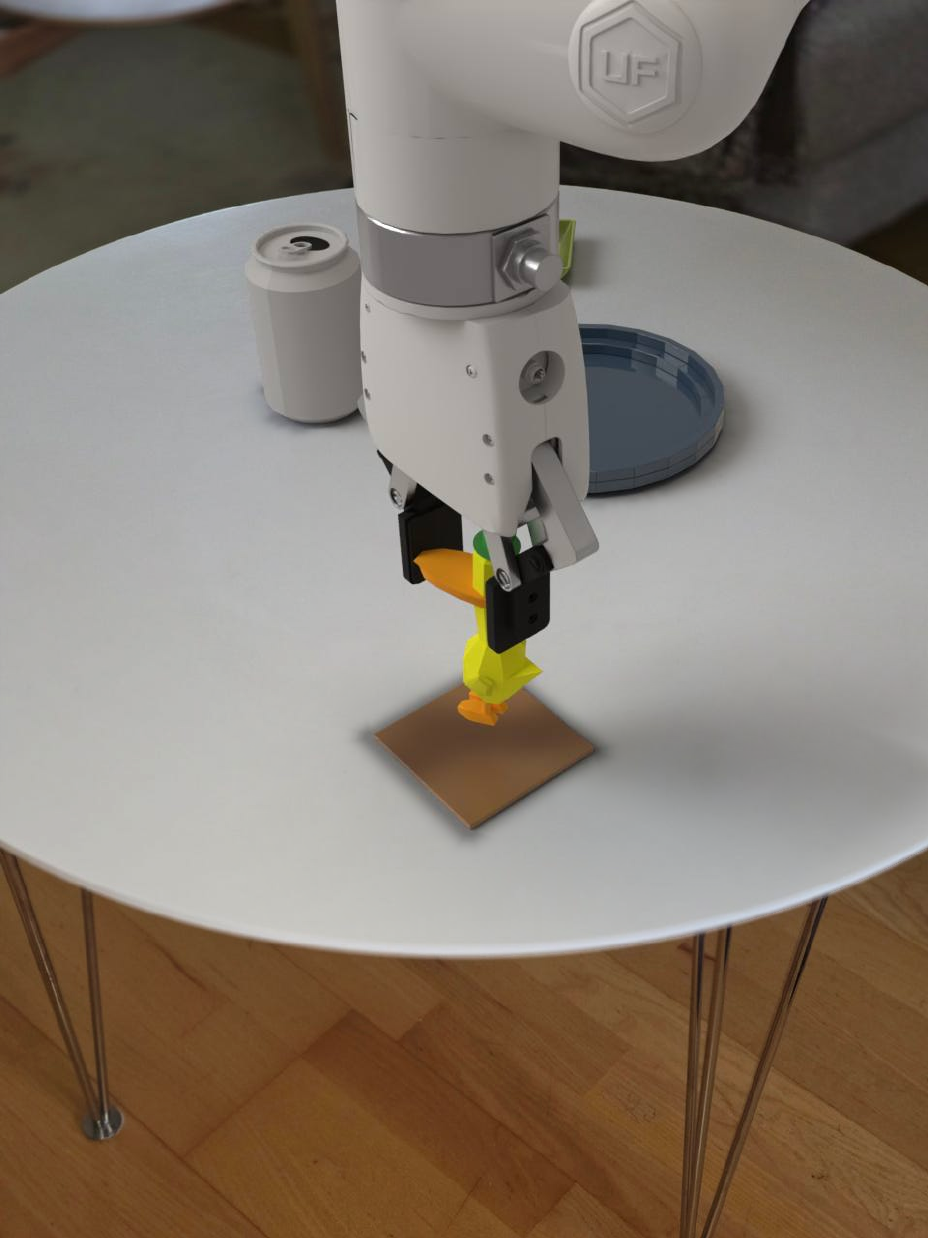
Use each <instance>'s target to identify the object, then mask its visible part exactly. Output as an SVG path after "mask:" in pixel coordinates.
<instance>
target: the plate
mask: <svg viewBox="0 0 928 1238" xmlns="http://www.w3.org/2000/svg"><path fill="white" fill-rule="evenodd" d="M578 327H579V332H580V338H581V344H582V352H583V359H584V367H585V378H586V389H587V404H588V422H589V485H588V491H587V494H588V493H590V494H596V493H597V494H599V493H607V492H615V491H623V490H624V491H625V490H632V489H636V488H639V487H643V486H647V485H648V484H653V483H656V482H660V481H662V480H663V481H664V480H667V479H668V478H670V477H672V476H674V475H677V474H678V473H680V472H682V471H684V470H685V469H687V468H690V467H691V466H694V465H695V464H696V463H697V462H698V461H700V460H701V459H702V458H703V457H704V456H705V455H706V454H707V453H708V452H709V451H710V450H711V449H712V448H713V447H714V446H715V444H716V442H717V439H718V437H719V435H720V433H721V431H722V428H723V426H724V418H725V417H724V416H725V408H726V404H725V403H726V401H725V386H724V384H723V382H722V380H721V379H720V376H719V375H718V373H717V371H716V370H715V368H714V366H713V365H711V364H710V363H709V362H708V361H706V359H705V358H703V356H701V355H700V354H698V353H697V351H695V350H693V349H691V348H690V347H687V346H685V345H684V344H681V343H680V342H678V341H676V340H674V339H673V338H671V337H667V336H664V335H660V334H658V333H654V332H650V331H649V330H644V329H641V328H635V327H629V326H622V325H617V324H616V325H615V324H608V323H578Z"/></svg>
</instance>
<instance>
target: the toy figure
mask: <svg viewBox="0 0 928 1238" xmlns="http://www.w3.org/2000/svg"><path fill="white" fill-rule="evenodd" d="M517 532H518V531H517ZM517 532H516V534H515V535H514V536H512V537H511V539H512V543H513V547H514V551H515V555H518V554H520V553H521V550H522V542H521V540H520V538H519V537H518V536H517ZM472 547H473V552H472V553H471V552H466V551H464V550H463V551H458V550H451V549H443V548H442V549H434V550H427V551H423V552H421V553H420V554H419V555H418V556H417V558H416V559H415V560H414V562H415V563H416V564H418V565H419V567H420V569H421V572H422V574H423V576H424V578H425V579H426V580H425V581H427V582H429V583H430V584H431V585H432V586H434V587H435V588H437V589H439V590H441V591H442V592H445V593H446V594H448V595H450V596H452V597H454V598H456V599H458V600H460V601H463V602H465V603H468V604H470V605H473V609H474V615H475V620H476V621H475V622H476V627H477V633H475V634H474V635H473V636H471V637H470V638H468V640H466V642H465V647H464V652H463V656H462V683H465V684H464V685H466V686H467V687H468V688H470V689H471V691H470V693H469V698H470V700H464V701H461V703H460V704H459V706H458V707H457V708H458V712H459V713H460V714H462V715H463V716H464V717H465V718H467V719H469V720H471V721H474V722H478V723H483V724H487V725H492V726H494V725H495V723H496V722H497V720H498V716H497V715H496V714H495V713H494V712H496V713H500V714H504V712H505V711H506V710H507V709H508V705H507V704H506V703H505V700H506V699H508V698H510V697H511V696H512V695H513V694H515V693H516V692H517V691H518V690H520V689H521V688H523V687H524V686H526V685H527V684H528V683H530V682H531V681H532V680H534V679H535V678H537V677H538V676H539V675H541V674H542V673H543V672H544V670H542V668H540V667H539V666H538V665H536V664H535V663H534V662H532V660H531V659H529V658H528V657H526V650H527V647H526V646H527V639H526V640H524V641H522V642H521V643H519V644H517V645H515V646H514V647H512V648H510V649H508V650H507V651H505V652H503V653H501V654H497V653H495V652H494V651H493V650H492V649H491V648H489V646H488V641H487V619H486V593H485V584H486V581H487V580H488V579H489V578H491V577H493V576H495V575H494V571H493V567H492V563H491V559H490V556H489V552H488V548H487V544H486V540H485V537H484V533H483V529H482V528H481V530H479V531H478V532H476V534H475V535H474V537H473V539H472Z"/></svg>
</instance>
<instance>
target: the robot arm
mask: <svg viewBox="0 0 928 1238" xmlns="http://www.w3.org/2000/svg"><path fill="white" fill-rule="evenodd" d="M810 1H811V0H335V5H336V14H337V15H336V17H337V25H338V26H337V27H338V37H339V46H340V57H341V68H342V79H343V88H344V99H345V110H346V120H347V129H348V130H347V131H348V139H349V142H348V143H349V150H350V160H351V161H350V162H351V170H352V182H353V191H354V201H355V212H356V221H357V231H358V232H357V233H358V243H359V244H358V245H359V253H360V262H361V272H362V279H361V298H360V342H361V369H362V381H363V394H362V395H361V396H360V397H359V399H358V401H357V404H358V408H357V409H358V410H359V413H360V415H361V416H362V418H363V420H364V422H365V424H366V425H367V427H368V431H369V435H370V438H371V441H372V443H373V444H374V446H375V447H376V453H377V454H376V455H377V456H378V457H379V459H381V461H382V463H383V465H384V467H385V469H386V471H387V472H388V474H389V476H390V479H389V484H388V491H387V492H388V497H389V499H390V502H391V503H392V505H393V506H394V507H395V508H396V509H398V510H403V511H402V512H400V513H398V514H397V520H398V531H399V532H398V533H399V543H400V554H401V565H402V566H401V567H402V576H403V579H405V580H406V581H407V582H408V583H409V584H411V585H419V584H421V583H423V582H426V581H427V580H426V579H425V578H424V576H423V574H422V572H421V569H420V567H419V565H418V564H416V563H415V562H414V560H415V559H416V558H417V556H418V555H419V554H420V553H421V552H423V551H427V550H434V549H442V548H443V549H451V550H458V551H463V552H464V536H463V533H464V532H463V517H464V518H465V519H467V520H468V521H470V522H471V523H472V524H474V525H476V526H477V527H479V528H480V529H481V530H482V529H483V533H484V537H485V540H486V544H487V548H488V552H489V556H490V559H491V563H492V567H493V571H494V575H495V576H493V577H491V578H489V579H488V580H487V581H486V584H485V593H486V619H487V641H488V646H489V648H491V649H492V650H493V651H494V652H495V653H497V654H501V653H503V652H505V651H507V650H508V649H510V648H512V647H514V646H515V645H517V644H519V643H521V642H522V641H524V640H526V641H527V640H528V639H529V638H531V637H533V636H535V635H537V634H538V633H540V632H542V631H543V630H545V629H546V628H548V626H549V625H550V621H551V572H553V571H558V570H559V571H560V570H562V569H564V568H567V567H570V566H574V565H576V564H578V563H579V562H581V561H583V560H585V559H587V558H588V557H590V556H592V555H594V554H596V553H597V552H598V551H599V550H600V543H599V540H598V538H597V535H596V533H595V531H594V529H593V526H592V525H591V522H590V521H589V518H588V516H587V514H586V512H585V511H584V508H583V506H582V505H581V503H580V502H582V501H583V500H585V499H586V498H587V494H588V493H587V491H588V485H589V422H588V404H587V389H586V378H585V367H584V359H583V352H582V344H581V338H580V332H579V327H578V324H579V322H578V317H577V311H576V308H575V303H574V299H573V295H572V290H571V287H570V286H569V284H567V283H566V282H565V281H563V280H562V279H560V278H561V275H562V273H563V263H562V259H561V258H560V257H559V219H560V174H561V173H560V171H561V170H560V165H561V161H560V160H561V158H560V157H561V156H560V155H561V147H560V146H561V142H562V143H566V144H569V145H572V146H575V147H577V148H581V149H584V150H587V151H591V152H593V153H594V152H595V153H598V154H601V155H604V156H605V155H606V156H610V157H614V158H618V159H623V160H631V161H637V162H638V161H639V162H648V163H649V162H650V163H651V162H667V161H668V162H670V161H676V160H680V159H684V158H688V157H691V156H694V155H698V154H700V153H702V152H705V151H707V150H708V149H711V148H712V147H713V146H715V145H716V144H719V142H721V141H722V140H723V139H725V138H726V137H728V136H729V135H730V134H732V133H733V132H734V131H735V130H736V129H737V128H738V127H739V126H740V125H741V123H742V122H743V121H744V120H745V119H746V117H747V116H748V115H749V113H751V111H752V109H753V108H755V106H756V104H757V102H758V101H759V99H760V97H761V95H762V93H763V91H764V89H765V87H766V85H767V83H768V80H769V79H770V77H771V74H772V72H773V70H774V68H775V66H776V64H777V62H778V59H779V58H780V56H781V54H782V52H783V49H784V47H785V45H786V43H787V39H788V37H789V35H790V34H791V31H792V29H793V27H794V25H795V23H796V21H797V19H798V17H799V15H800V13H801V12H802V10H803V9H804V7H805V6H806V5H807V4H808V3H809V2H810ZM525 525H526V527H527V530H528V534H529V538H530V543H531V547H529V548H527V549H525V550H523V551H522V552H520V553H519V554H518V555H515V551H514V547H513V543H512V539H511V537H512V536H514V535H515V534H516V535H517V533H516V532H518V529H519V528H521V527H524V526H525Z"/></svg>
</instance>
